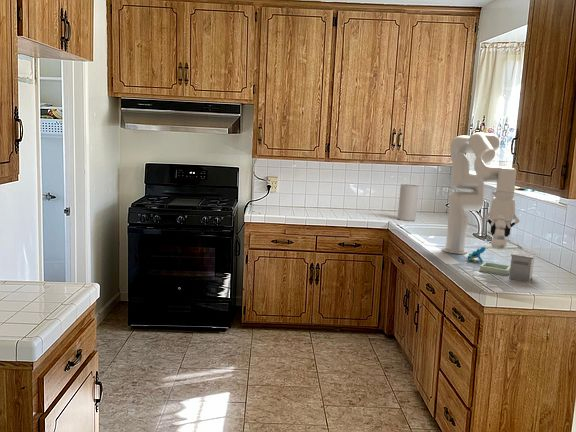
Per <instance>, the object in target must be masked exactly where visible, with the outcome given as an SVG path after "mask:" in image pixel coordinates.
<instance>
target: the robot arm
mask: <svg viewBox="0 0 576 432" xmlns="http://www.w3.org/2000/svg"><path fill="white" fill-rule="evenodd" d="M499 147H500V138H499V137H498V136H497V134H494V133H487V132H486V133H485V132H474V133H473V134H471V135H459V136H455V137H454V138H452V140H451V142H450V146H449V152H450V157H451V162H452V164H451V165H452V167H451V168H452V169H451V184H452V186H453V188H454V189H457V190H458V189H459V190H470V191H454V192H452V193H450V195H449V197H448V220H447V231H446V239H445V246H444V247H442V249H441V250H442V251H443V252H445V253H448V254H449V253H450V254H456V255H465V254H467V253H468V250H467V249H465V245H466V236H467V228H468V217H467V214H466V212H465V211H475V212H476V211H480V210H481V209H482V208H483V206H484V197H485V196H484V193H485V192H484V191H485V189H484V187H485V185H484V184H485V183H496V187H495V188H496V189H495V191H492V192H491V194H492V196H494V197H493V198H492V201H491V205H490V209H489V212H488V213H487V214H485V216H483V217H484V219H485V220H486V221H487V223H488V224H489V225H490V233H491V235H492V236H493V234H494V223H495V220H498V216H499V215H503V216H504V218H505V219H504V221H506V222H507V226H508V227H507V228H506V238H508V237H509V236H510V235H511V228H512V227H514V226H516V225H517V224H518V223H520V222H521V221H520V219H519V217H518V216H517V215H516V199H514V198H515V197H514V196H515V195H514V194H515V188H516V179H517V169H515V168H514V167H507V166H502V165H500V166H499V165H487V164H488V163H490V162H492V161H493V160H494V158H495V156H496V151H497V150H498V148H499ZM466 154H474V156H475V157H476V158H475V160H474V161H473V162H474V163H473V169H474V171H472V170H470V160H469V158H468V157H467V155H466Z"/></svg>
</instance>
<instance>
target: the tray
mask: <svg viewBox="0 0 576 432" xmlns="http://www.w3.org/2000/svg"><path fill="white" fill-rule="evenodd" d="M510 266H511V265H508V264H501V263H496V262H489V261H483V262H482V263H481V265H479V271H480V272H485V273H489V274H495V275H501V276H509V274H510Z"/></svg>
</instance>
